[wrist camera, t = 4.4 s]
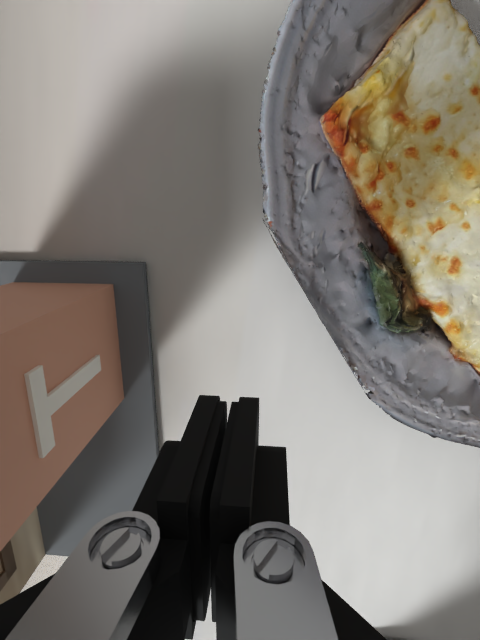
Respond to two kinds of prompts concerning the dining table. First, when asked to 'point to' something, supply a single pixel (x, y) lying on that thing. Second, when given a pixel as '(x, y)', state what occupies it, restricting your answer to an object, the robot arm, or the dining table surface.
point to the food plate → (383, 196)
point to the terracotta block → (51, 386)
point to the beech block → (20, 557)
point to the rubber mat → (123, 424)
